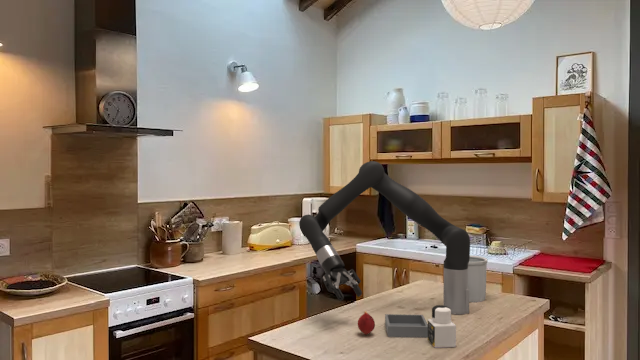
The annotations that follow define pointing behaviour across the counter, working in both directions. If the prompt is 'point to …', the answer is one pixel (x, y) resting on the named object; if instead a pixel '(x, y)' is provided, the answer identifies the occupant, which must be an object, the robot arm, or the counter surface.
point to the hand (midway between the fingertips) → (351, 297)
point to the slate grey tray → (406, 325)
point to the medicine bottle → (441, 328)
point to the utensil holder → (477, 278)
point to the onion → (366, 323)
